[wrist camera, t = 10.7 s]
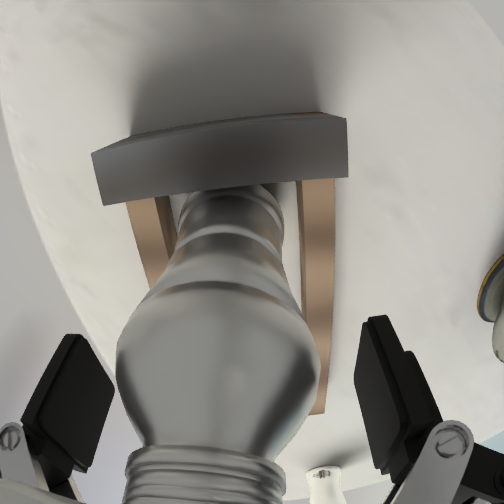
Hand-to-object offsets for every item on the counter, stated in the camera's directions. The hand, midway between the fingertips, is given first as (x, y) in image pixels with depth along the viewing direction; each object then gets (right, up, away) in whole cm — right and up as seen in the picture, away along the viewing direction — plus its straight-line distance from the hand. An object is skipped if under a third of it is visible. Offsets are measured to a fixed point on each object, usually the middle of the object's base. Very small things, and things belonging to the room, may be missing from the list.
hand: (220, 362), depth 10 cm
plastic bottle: (0, +6, +13) cm, 14 cm away
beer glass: (+13, -34, +35) cm, 50 cm away
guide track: (+1, 0, +16) cm, 16 cm away
